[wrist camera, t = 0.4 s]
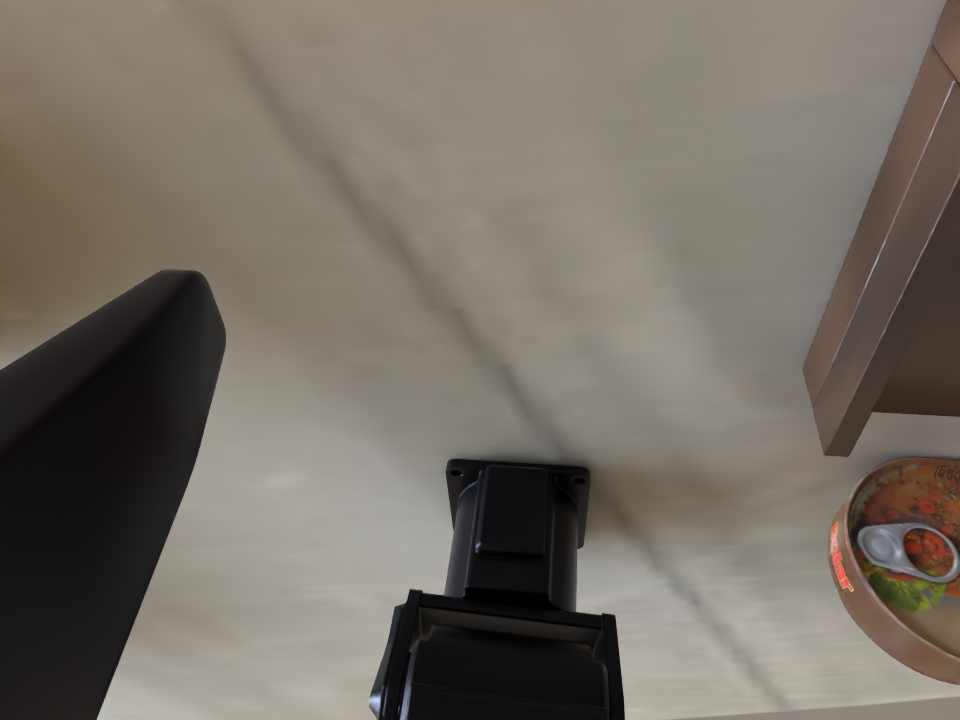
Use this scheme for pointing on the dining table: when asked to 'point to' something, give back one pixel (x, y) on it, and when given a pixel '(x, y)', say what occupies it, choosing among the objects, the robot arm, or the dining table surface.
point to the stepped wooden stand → (900, 271)
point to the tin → (904, 562)
